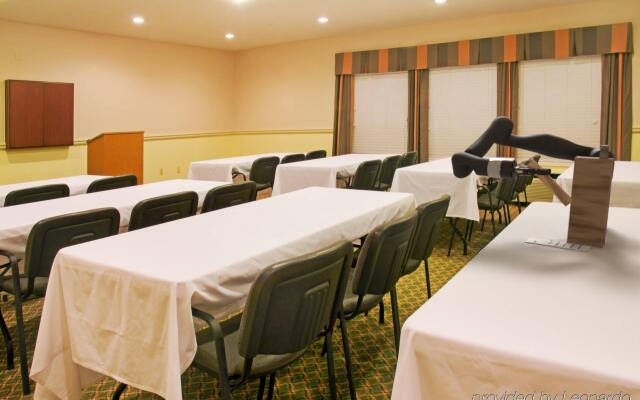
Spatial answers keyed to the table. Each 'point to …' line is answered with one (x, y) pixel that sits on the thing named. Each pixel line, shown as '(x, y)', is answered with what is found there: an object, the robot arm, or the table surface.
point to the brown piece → (590, 199)
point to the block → (552, 185)
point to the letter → (558, 244)
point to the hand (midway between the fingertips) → (549, 172)
